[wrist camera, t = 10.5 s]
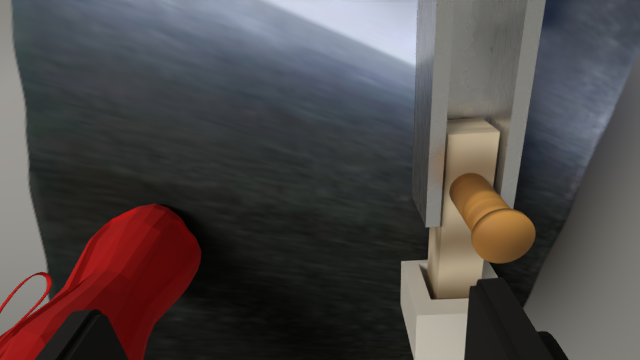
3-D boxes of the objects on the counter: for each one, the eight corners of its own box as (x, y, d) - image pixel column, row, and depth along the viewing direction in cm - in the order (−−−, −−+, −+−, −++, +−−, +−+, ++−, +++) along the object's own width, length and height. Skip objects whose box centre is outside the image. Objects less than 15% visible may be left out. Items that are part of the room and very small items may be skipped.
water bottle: (155, 175, 38) (-96, 428, 16) (216, 256, 42) (88, 552, 20) (83, 211, 40) (-232, 483, 18) (149, 286, 44) (-40, 587, 22)
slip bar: (435, 120, 34) (481, 172, 24) (481, 117, 34) (548, 168, 24) (425, 297, 42) (457, 391, 32) (462, 295, 42) (505, 390, 32)
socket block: (401, 261, 42) (416, 315, 35) (485, 257, 42) (518, 311, 34) (400, 303, 45) (414, 362, 37) (480, 300, 44) (509, 359, 37)
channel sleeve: (417, -4, 31) (436, -4, 26) (508, -11, 31) (547, -13, 25) (411, 195, 39) (425, 227, 33) (485, 191, 38) (511, 222, 33)
